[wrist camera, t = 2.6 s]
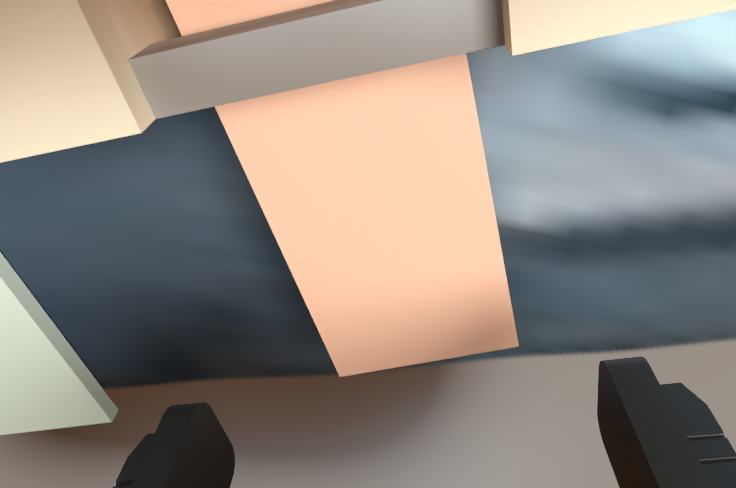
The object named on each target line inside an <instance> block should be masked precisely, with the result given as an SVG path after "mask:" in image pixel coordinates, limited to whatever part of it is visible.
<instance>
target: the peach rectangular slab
mask: <svg viewBox="0 0 736 488" xmlns="http://www.w3.org/2000/svg"><path fill="white" fill-rule="evenodd" d="M330 1H334V0H166V3H167V5H168V7H169V9H170V11H171V13H172V16H173V18H174V20H175V22H176V24H177V26H178V29H179V31H180V33H181V35H182V36H186V35H190V34H194V33H199V32H203V31H207V30H211V29H215V28H220V27H224V26H228V25H232V24H237V23H241V22H245V21H249V20H253V19H258V18H262V17H266V16H270V15H275V14H279V13H283V12H287V11H292V10H296V9H300V8H304V7H308V6H313V5H317V4H321V3H325V2H330ZM215 109H216V111H217V113H218V115H219V117H220V119H221V121H222V124H223V126H224V128H225V130H226V132H227V134H228V137H229V139H230V141H231V143H232V145H233V147H234V150H235V152H236V154H237V156H238V158H239V160H240V163H241V165H242V167H243V169H244V171H245V173H246V176H247V178H248V180H249V182H250V184H251V186H252V188H253V191H254V193H255V195H256V197H257V199H258V201H259V204H260V206H261V208H262V210H263V212H264V214H265V217H266V219H267V221H268V223H269V225H270V227H271V230H272V232H273V234H274V236H275V238H276V240H277V243H278V245H279V247H280V249H281V251H282V253H283V255H284V258H285V260H286V262H287V264H288V266H289V268H290V271H291V273H292V275H293V277H294V279H295V281H296V284H297V286H298V288H299V290H300V292H301V294H302V297H303V299H304V301H305V303H306V305H307V307H308V310H309V312H310V314H311V316H312V318H313V320H314V322H315V325H316V327H317V329H318V331H319V333H320V335H321V338H322V340H323V342H324V344H325V346H326V348H327V351H328V353H329V355H330V357H331V359H332V361H333V364H334V366H335V368H336V370H337V372H338V374H339V377H343V376H349V375H355V374H361V373H366V372H372V371H378V370H384V369H390V368H396V367H402V366H407V365H413V364H419V363H425V362H431V361H437V360H443V359H448V358H454V357H460V356H466V355H472V354H478V353H484V352H489V351H495V350H501V349H507V348H513V347H519V344H518V339H517V333H516V328H515V322H514V316H513V311H512V305H511V300H510V294H509V289H508V283H507V277H506V272H505V266H504V261H503V255H502V250H501V244H500V239H499V233H498V227H497V222H496V216H495V211H494V205H493V200H492V194H491V188H490V183H489V177H488V172H487V166H486V161H485V155H484V150H483V144H482V138H481V133H480V127H479V122H478V116H477V111H476V105H475V99H474V94H473V88H472V83H471V77H470V72H469V66H468V60H467V55H466V53H464V54H460V55H455V56H450V57H445V58H441V59H436V60H431V61H427V62H422V63H417V64H412V65H408V66H403V67H398V68H394V69H389V70H384V71H379V72H375V73H370V74H365V75H361V76H356V77H351V78H347V79H342V80H337V81H332V82H328V83H323V84H318V85H314V86H309V87H304V88H299V89H295V90H290V91H285V92H281V93H276V94H271V95H266V96H262V97H257V98H252V99H248V100H243V101H238V102H233V103H229V104H224V105H219V106H215Z"/></svg>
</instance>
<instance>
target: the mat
mask: <svg viewBox="0 0 736 488" xmlns="http://www.w3.org/2000/svg"><path fill="white" fill-rule="evenodd" d="M117 412H118V408H117V407H116V406H115V404H114V403H113V402H112V401H111V399H110V398H109V396H108V395H107V394H106V393H105V391H104V390H103V388H102V387H101V386H100V384H99V383H98V382H97V380H96V379H95V378H94V376H93V375H92V374H91V372H90V371H89V370H88V368H87V367H86V366H85V364H84V363H83V362H82V360H81V359H80V358H79V356H78V355H77V354H76V352H75V351H74V350H73V348H72V347H71V346H70V344H69V343H68V342H67V340H66V339H65V338H64V336H63V335H62V334H61V332H60V331H59V330H58V328H57V327H56V326H55V324H54V323H53V322H52V320H51V319H50V318H49V316H48V315H47V314H46V312H45V311H44V310H43V308H42V307H41V306H40V304H39V303H38V302H37V300H36V299H35V298H34V296H33V295H32V294H31V292H30V291H29V290H28V288H27V287H26V286H25V284H24V283H23V281H22V280H21V279H20V277H19V276H18V275H17V273H16V272H15V271H14V269H13V268H12V267H11V265H10V264H9V263H8V261H7V260H6V259H5V257H4V256H3V255H2V253H1V252H0V435H6V434H14V433H22V432H32V431H40V430H49V429H57V428H66V427H74V426H83V425H91V424H100V423H108V422H113V420H114V418H115V416H116V414H117Z"/></svg>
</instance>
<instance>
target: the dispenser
mask: <svg viewBox="0 0 736 488" xmlns="http://www.w3.org/2000/svg"><path fill="white" fill-rule="evenodd" d="M734 9H736V0H334V1H330V2H325V3H321V4H317V5H313V6H308V7H304V8H300V9H296V10H292V11H287V12H283V13H279V14H275V15H270V16H266V17H262V18H258V19H253V20H249V21H245V22H241V23H237V24H232V25H228V26H224V27H220V28H215V29H211V30H207V31H203V32H199V33H194V34H190V35H186V36H182V35H181V33H180V31H179V29H178V26H177V24H176V22H175V20H174V18H173V16H172V13H171V11H170V9H169V7H168V5H167V3H166V0H0V163H1V162H5V161H10V160H15V159H20V158H25V157H29V156H34V155H39V154H44V153H48V152H53V151H58V150H63V149H68V148H72V147H77V146H82V145H87V144H92V143H96V142H101V141H106V140H111V139H116V138H120V137H125V136H130V135H135V134H140V133H142V132H143V131H144V130H145V129H146V128H147V127H148V126H149V125H150V124H151V123H152V122H153V121H154V120H155V119H158V118H163V117H167V116H172V115H177V114H182V113H186V112H191V111H196V110H200V109H205V108H210V107H215V106H219V105H224V104H229V103H233V102H238V101H243V100H248V99H252V98H257V97H262V96H266V95H271V94H276V93H281V92H285V91H290V90H295V89H299V88H304V87H309V86H314V85H318V84H323V83H328V82H332V81H337V80H342V79H347V78H351V77H356V76H361V75H365V74H370V73H375V72H379V71H384V70H389V69H394V68H398V67H403V66H408V65H412V64H417V63H422V62H427V61H431V60H436V59H441V58H445V57H450V56H455V55H460V54H464V53H469V52H474V51H478V50H483V49H488V48H493V47H497V46H502V45H505V46H506V47H507V49H508V50H509V52H510V53H511V55H512V56H513V55H518V54H523V53H528V52H533V51H537V50H542V49H547V48H552V47H557V46H561V45H566V44H571V43H576V42H581V41H585V40H590V39H595V38H600V37H604V36H609V35H614V34H619V33H624V32H628V31H633V30H638V29H643V28H648V27H652V26H657V25H662V24H667V23H672V22H676V21H681V20H686V19H691V18H696V17H700V16H705V15H710V14H715V13H720V12H724V11H729V10H734Z"/></svg>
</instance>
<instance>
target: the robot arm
mask: <svg viewBox="0 0 736 488" xmlns="http://www.w3.org/2000/svg"><path fill="white" fill-rule="evenodd" d="M598 380H599V381H598V408H597V414H598V422H599V428H600V433H601V437H602V440H603V443H604V446H605V449H606V452H607V454H608V457H609V460H610V463H611V465H612V468H613V471H614V474H615V476H616V479H617V482H618V484H619V487H620V488H736V453H735V451H734V449H733V448H732V446H731V444H730V442H729V441H728V439H727V438H725V437H724V434H723V431H722V429H721V427H720V426H719V424H718V422H717V421H716V419H715V417H714V416H713V414H712V412H711V411H710V409H709V408H708V406H707V405H706V404H705V403H704V402H703V401H702V400H701V399H699V398H698V397H697V396H696V395H695V394H693V393H692V392H691V391H690V390H689V389H687V388H686V387H685V386H684V385H683V384H682V383H674V384H663V385H660V384H659V382H658V381H657V379H656V377H655V375H654V373H653V371H652V369H651V367H650V365H649V364H648V362H647V361H646V359H645V358H643V357H634V358H624V359H615V360H605V361H601V362H600V364H599V379H598ZM234 466H235V456H234V450H233V446H232V444H231V442H230V440H229V438H228V437H227V435H226V433H225V432H224V430H223V428H222V426H221V424H220V423H219V421H218V419H217V417H216V416H215V414H214V412H213V410H212V409H211V407H210V405H209V404H207V403H204V402H202V403H193V404H184V405H174V406H171V407H169V408H168V409H167V410H166V411H165V413H164V415H163V417H162V419H161V421H160V423H159V426H158V428H157V430H156V432H155V434H147V435H146V436H145V437H144V439H143V440H142V441H141V442H140V443H139V444H138V446H137V447H136V448H135V449H134V450H133V451H132V452H131V454H130V455H129V456H128V458H127V460H126V462H125V464H124V466H123V468H122V470H121V472H120V474H119V476H118V478H117V481H116V486H115V487H113V488H230V484H231V481H232V477H233V473H234Z"/></svg>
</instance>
